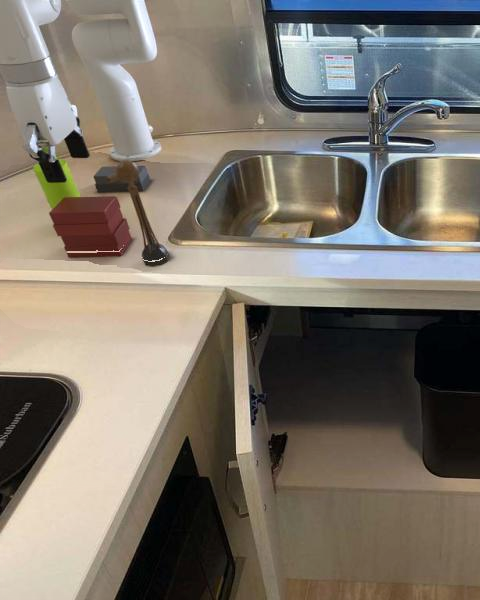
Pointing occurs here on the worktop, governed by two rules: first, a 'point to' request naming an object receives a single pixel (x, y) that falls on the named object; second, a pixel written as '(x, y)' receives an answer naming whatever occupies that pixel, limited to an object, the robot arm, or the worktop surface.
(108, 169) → the grey books
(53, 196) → the soap dispenser
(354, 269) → the worktop surface
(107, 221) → the red book
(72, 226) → the red books
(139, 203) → the wooden tabletop sculpture
